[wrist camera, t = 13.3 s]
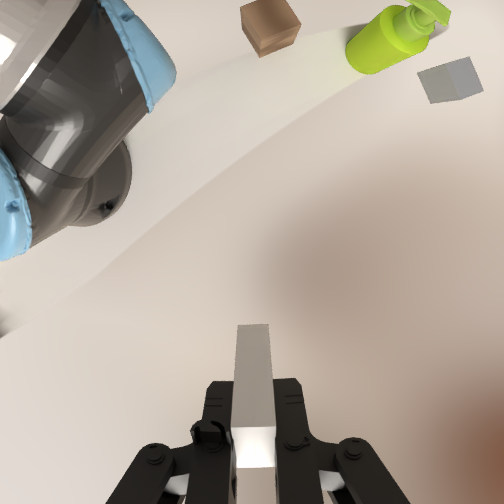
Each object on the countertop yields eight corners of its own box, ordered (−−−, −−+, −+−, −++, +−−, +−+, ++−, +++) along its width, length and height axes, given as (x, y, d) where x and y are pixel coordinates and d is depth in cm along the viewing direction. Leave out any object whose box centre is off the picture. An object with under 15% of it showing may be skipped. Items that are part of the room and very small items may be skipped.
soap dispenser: (346, 26, 34) (405, -36, 16) (389, 49, 35) (468, 7, 16) (332, 58, 36) (390, 5, 17) (377, 81, 37) (458, 51, 18)
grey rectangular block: (430, 103, 38) (460, 99, 30) (416, 73, 36) (444, 63, 29) (453, 94, 37) (484, 90, 29) (440, 65, 35) (469, 56, 28)
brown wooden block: (259, 57, 36) (261, 40, 29) (242, 29, 35) (240, 7, 27) (293, 43, 36) (302, 23, 28) (276, 15, 34) (281, -9, 27)
